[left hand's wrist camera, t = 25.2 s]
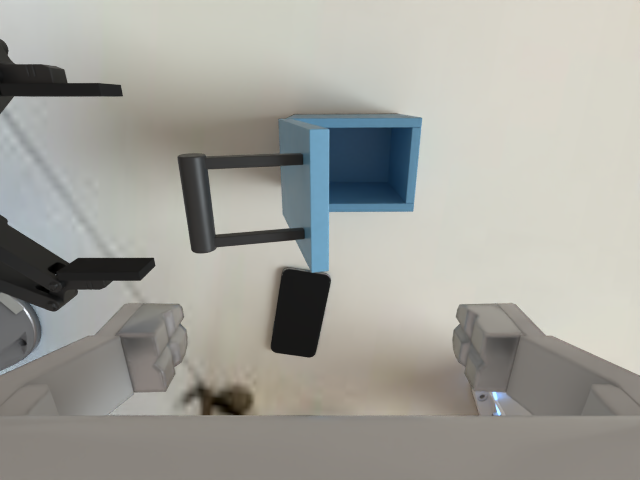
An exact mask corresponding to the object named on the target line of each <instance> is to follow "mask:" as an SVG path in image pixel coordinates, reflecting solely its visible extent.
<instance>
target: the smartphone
mask: <svg viewBox="0 0 640 480" xmlns="http://www.w3.org/2000/svg"><path fill="white" fill-rule="evenodd" d="M330 283H331V278H330V276H329V275H328V274H326V273H321V272H314V273H311V271H309V270H302V269H296V268H286V269H284V270H283V272H282V277H281V284H280V290H279V297H278V303H277V310H276V316H275V321H274V327H273V336H272V342H271V349H272V351H273V352H275V353H281V354H288V355H295V356H302V357H313V356H314V355H315V354H316V349H317V345H318V340H319V336H320V331H321V326H322V321H323V316H324V312H325V307H326V302H327V297H328V293H329V288H330Z"/></svg>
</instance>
